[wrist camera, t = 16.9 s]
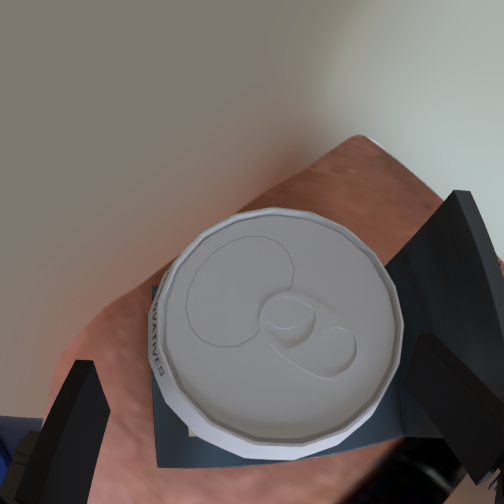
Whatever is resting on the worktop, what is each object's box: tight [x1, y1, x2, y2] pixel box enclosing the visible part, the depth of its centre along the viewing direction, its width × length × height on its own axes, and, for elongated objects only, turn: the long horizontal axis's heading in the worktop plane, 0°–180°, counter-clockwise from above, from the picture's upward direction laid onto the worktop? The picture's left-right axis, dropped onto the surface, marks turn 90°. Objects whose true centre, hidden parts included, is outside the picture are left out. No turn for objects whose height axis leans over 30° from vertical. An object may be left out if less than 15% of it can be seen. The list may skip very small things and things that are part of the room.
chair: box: [152, 190, 504, 468], centre depth 20 cm, size 20×14×18 cm
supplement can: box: [148, 207, 404, 460], centre depth 15 cm, size 8×8×15 cm
